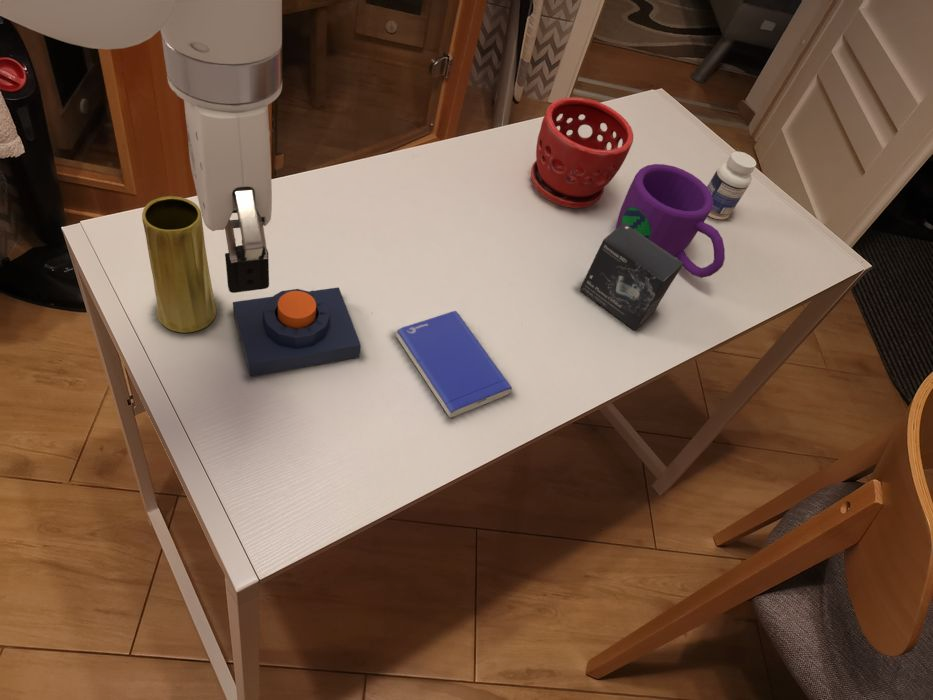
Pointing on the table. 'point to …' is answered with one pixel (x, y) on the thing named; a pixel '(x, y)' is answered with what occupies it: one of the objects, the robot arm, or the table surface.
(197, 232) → the vase
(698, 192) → the mug
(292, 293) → the orange button
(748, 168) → the pill bottle
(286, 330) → the button block
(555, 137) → the flower pot
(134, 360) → the table surface
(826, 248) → the table surface
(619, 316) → the box
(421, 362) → the hard drive
